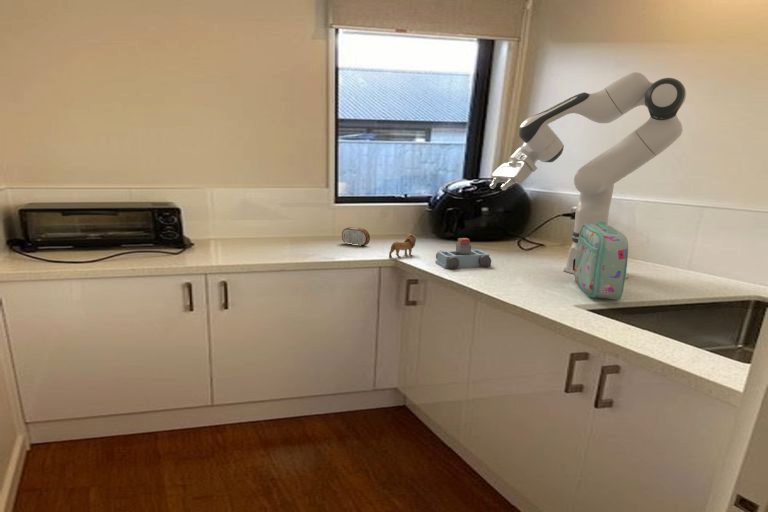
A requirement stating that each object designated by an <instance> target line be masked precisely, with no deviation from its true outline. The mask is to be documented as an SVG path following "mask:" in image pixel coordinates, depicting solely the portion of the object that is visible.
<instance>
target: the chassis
mask: <svg viewBox="0 0 768 512" xmlns="http://www.w3.org/2000/svg"><path fill="white" fill-rule="evenodd" d="M435 259H436V260H435V264H437V265H438V266H440V267H442V268H443V269H451V270H456V269H459V268H460V269H461V268H474V267H475V268H476V267H483V268H488V267H491V264H492V258H491V257H490V254H489V253H487V252H485V251H483V250H480V249H473V248H471V255H457V256H456V250H438V251H437V252H436V253H435Z"/></svg>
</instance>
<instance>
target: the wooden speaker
mask: <svg viewBox="0 0 768 512" xmlns="http://www.w3.org/2000/svg"><path fill="white" fill-rule="evenodd" d="M341 239H342V242H343V243H345V242H347V243H352V244H358V245H365V246H367V245H369V242H370V240H371V236H370V233H369V231H368V230H367V229H365V228H361V227H353V226H348V227H346V228H343V230H342V232H341Z"/></svg>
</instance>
